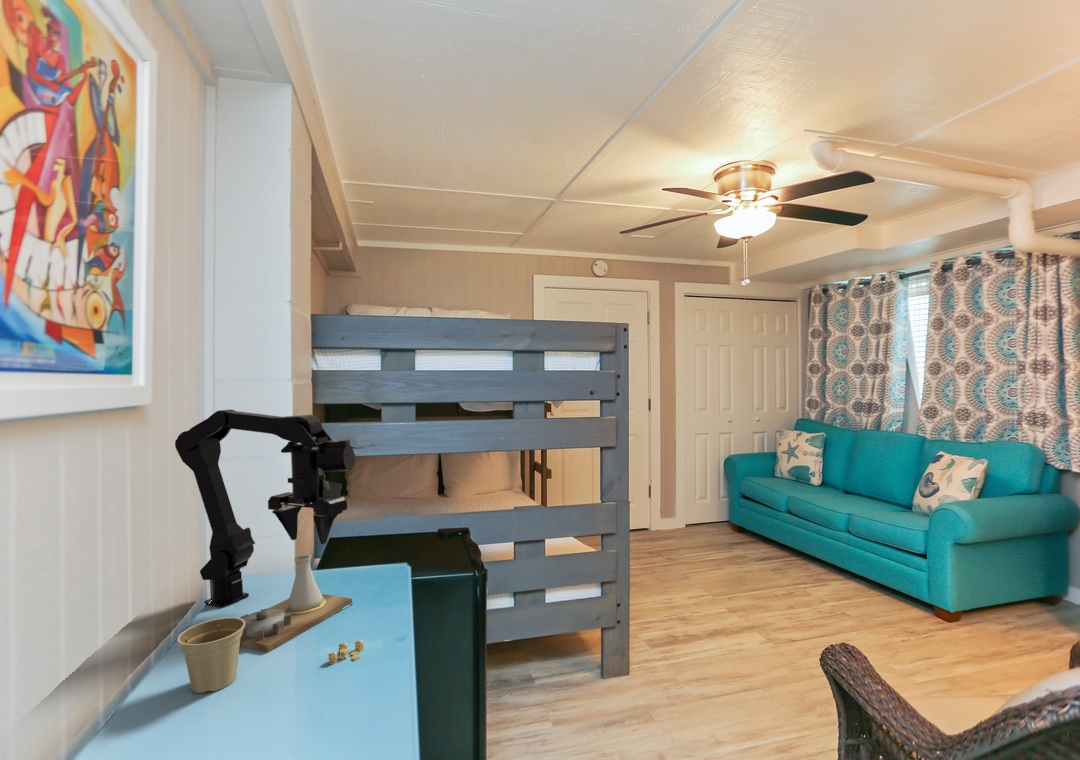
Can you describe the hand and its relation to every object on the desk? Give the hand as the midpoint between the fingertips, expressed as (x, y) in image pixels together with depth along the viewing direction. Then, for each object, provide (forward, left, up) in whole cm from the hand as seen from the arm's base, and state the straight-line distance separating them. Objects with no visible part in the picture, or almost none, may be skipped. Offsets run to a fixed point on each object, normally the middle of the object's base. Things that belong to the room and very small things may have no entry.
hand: (308, 541), depth 119 cm
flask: (+4, -5, -12) cm, 13 cm away
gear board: (+4, -10, -13) cm, 17 cm away
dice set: (+26, -16, -14) cm, 34 cm away
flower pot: (+11, -30, -13) cm, 35 cm away
